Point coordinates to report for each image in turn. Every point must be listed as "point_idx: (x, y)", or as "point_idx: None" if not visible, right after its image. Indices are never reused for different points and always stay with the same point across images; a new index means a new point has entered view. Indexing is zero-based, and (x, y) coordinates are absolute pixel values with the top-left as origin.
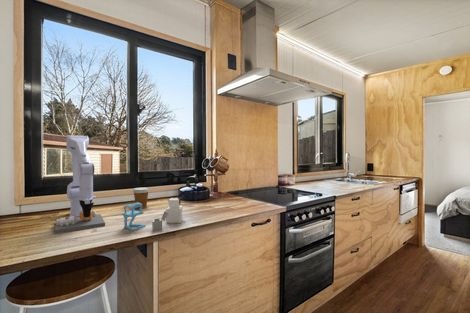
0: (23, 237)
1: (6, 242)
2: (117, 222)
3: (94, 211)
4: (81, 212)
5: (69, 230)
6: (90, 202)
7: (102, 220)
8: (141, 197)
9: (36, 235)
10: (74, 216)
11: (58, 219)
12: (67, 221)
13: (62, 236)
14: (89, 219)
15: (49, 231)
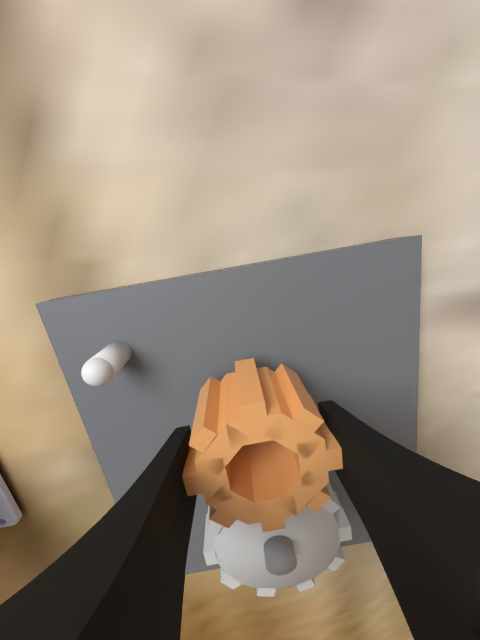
0: (375, 608)
1: (411, 635)
2: (350, 114)
3: (98, 377)
4: (299, 511)
5: None
6: (121, 580)
7: (327, 264)
8: None
9: (374, 574)
10: (11, 494)
11: (268, 591)
12: (350, 528)
13: (475, 469)
14: None
15: None
